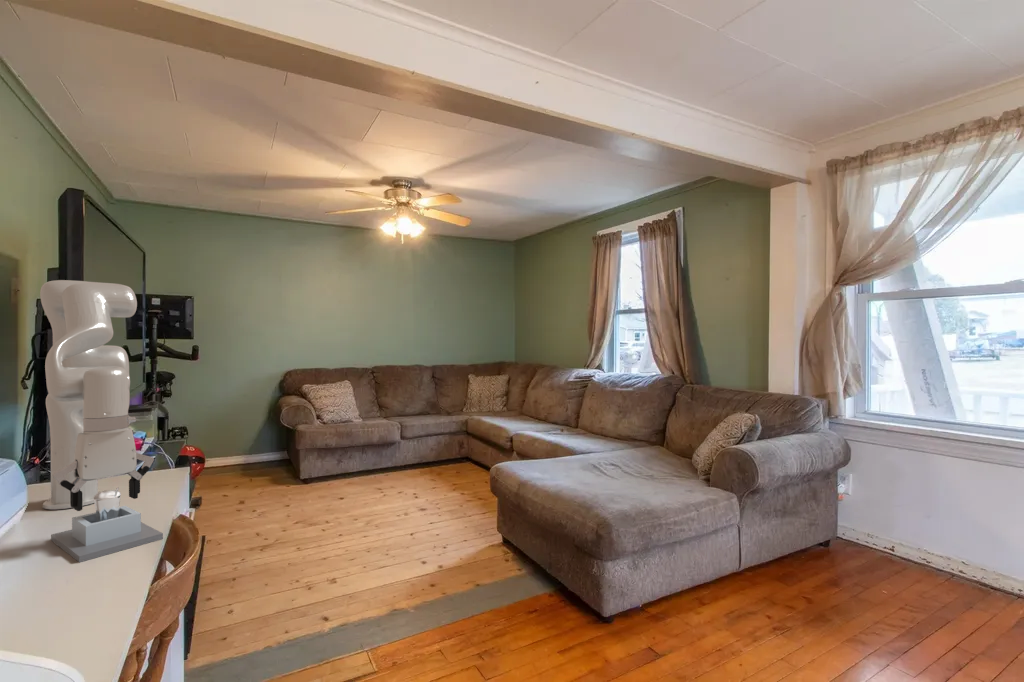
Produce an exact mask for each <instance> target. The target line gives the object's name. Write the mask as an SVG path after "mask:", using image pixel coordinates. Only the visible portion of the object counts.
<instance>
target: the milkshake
mask: <svg viewBox="0 0 1024 682" xmlns="http://www.w3.org/2000/svg"><path fill="white" fill-rule="evenodd" d="M119 489H120V488H119V487H117V488H116V489H111V490H110V489H106V490H102V491H99V492H100V493H98V494H96V495H95V496H94V503H93V504H94V507H95V512H96V516H97V522H100V521H104V520H108V519H112V518H117V517H118V513H119V507H120V503H121V494H122V493H121V491H119Z"/></svg>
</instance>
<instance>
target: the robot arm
mask: <svg viewBox="0 0 1024 682" xmlns="http://www.w3.org/2000/svg"><path fill="white" fill-rule="evenodd" d="M39 291H40V293H39V295H40V302H41V305H42V309H43V312H44V314H45V315H46V317H47V319H48V322H49V323H50V327H51V330H52V346H51V347H50V349H49V351H48V352H47V354H46V357H45V363H44V364H45V365H44V368H45V369H44V370H45V379H46V380H45V382H46V389H47V392H48V394H47V396H46V398H45V408H46V412H47V418H48V423H49V424H48V426H49V431H50V434H49V435H50V436H49V437H50V499H47V500H45V501H44V502H42V509H45V510H67V509H72V508H73V510H75V511H77V512H80V511H82V510H83V506H87V505H91V504H95V503H94V496H95V495H96V494H98V493H100V492H101V491H99V488H98V487H99V486H98V485H99V482H98V481H99V480H101V479H108V478H112V477H113V478H114V477H118V476H124V475H128V476H129V477H130V478H129V480H128V496H129V497H130V498H131V499H134V500H135V499H138V497H139V496H138V495H139V494H140V493H141V480H142V479H143V477H144V476H145V475H146V474H147V473H148V472H149V470H150V467H151V466H152V464H153V462H154V461H155V457H152V456H148V455H146V454H141V453H138V452H137V448H136V443H135V438H134V432H133V429H132V428H131V427H130V424H133V423H136V421H137V419H136V416H130V415H129V408H130V395H131V394H130V387H131V377H130V363H129V362H130V361H129V355H128V353H127V351H126V350H125V349H124V348H123V347H121V346H119V345H106V344H107V343H109V342H110V341H111V340H112V338H113V337H114V329H113V323H112V318H131V317H133V316H134V315H135V314H136V311H137V309H138V308H137V307H138V301H137V296H136V294H135V292H134V290H133V289H132V288H131V287H130V286H128V285H126V284H125V285H124V284H121V283H114V282H113V283H112V282H111V283H110V282H99V281H98V282H97V281H86V280H70V279H68V280H67V279H66V280H65V279H58V280H57V279H56V280H51V281H50V280H49V281H47V282H45V283H43V284H42V285H41V288H40V290H39ZM138 460H139V461H143V464H142V465H141V467H139V468H138V469H137V464H138V462H137V461H138ZM136 469H137V470H136Z"/></svg>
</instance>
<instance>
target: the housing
mask: <svg viewBox="0 0 1024 682" xmlns="http://www.w3.org/2000/svg"><path fill="white" fill-rule="evenodd" d="M141 514H142V513H141V512H139V511H136V510H135V509H133V508H130V507H129V506H127V505H122V506H119V513H118V517H117V518H112V519H108V520H104V521H100V522H97V516H96V511H95V512H90V513H87V514H82V515H78V516H73V517H71V529H68V530H65V531H60V532H56V533H51V534H50V540H51V541H52V542H53V543H54V544H55V545H56V546H58V547H59V548H60V549H61V550H63V551H64V552H66V553H67V554H68V555H69V556H70V557H72V558H73V559H74V560H76V561H77V562H78V563H82V562H85V561H89V560H93V559H96V558H100V557H104V556H107V555H110V554H113V553H117V552H121V551H124V550H128V549H132V548H134V547H139V546H142V545H146V544H149V543H152V542H157V541H159V540H160V541H161V540H163V539H164V534H163V533H164V532H161V531H159V530H157V529H156V528H153V527H151V526H149V525H147V524H146V523H143V522H142V518H141V517H142V515H141Z"/></svg>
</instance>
